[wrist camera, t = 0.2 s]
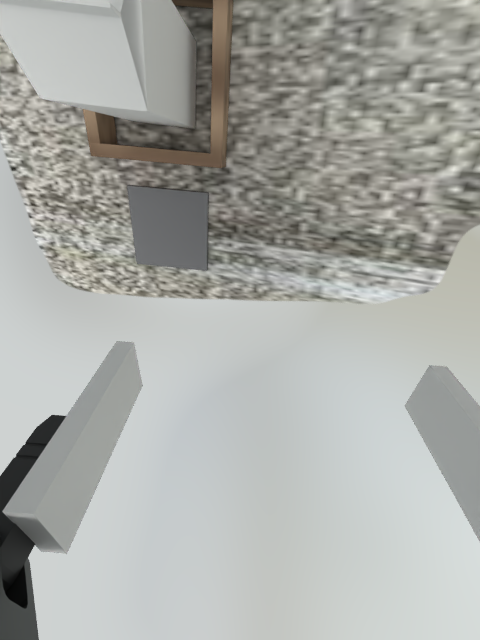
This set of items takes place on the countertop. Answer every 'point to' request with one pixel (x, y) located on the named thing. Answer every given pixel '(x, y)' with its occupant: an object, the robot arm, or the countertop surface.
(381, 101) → the countertop surface
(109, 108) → the milk carton
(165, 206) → the rubber mat
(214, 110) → the wooden square frame
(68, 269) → the countertop surface
